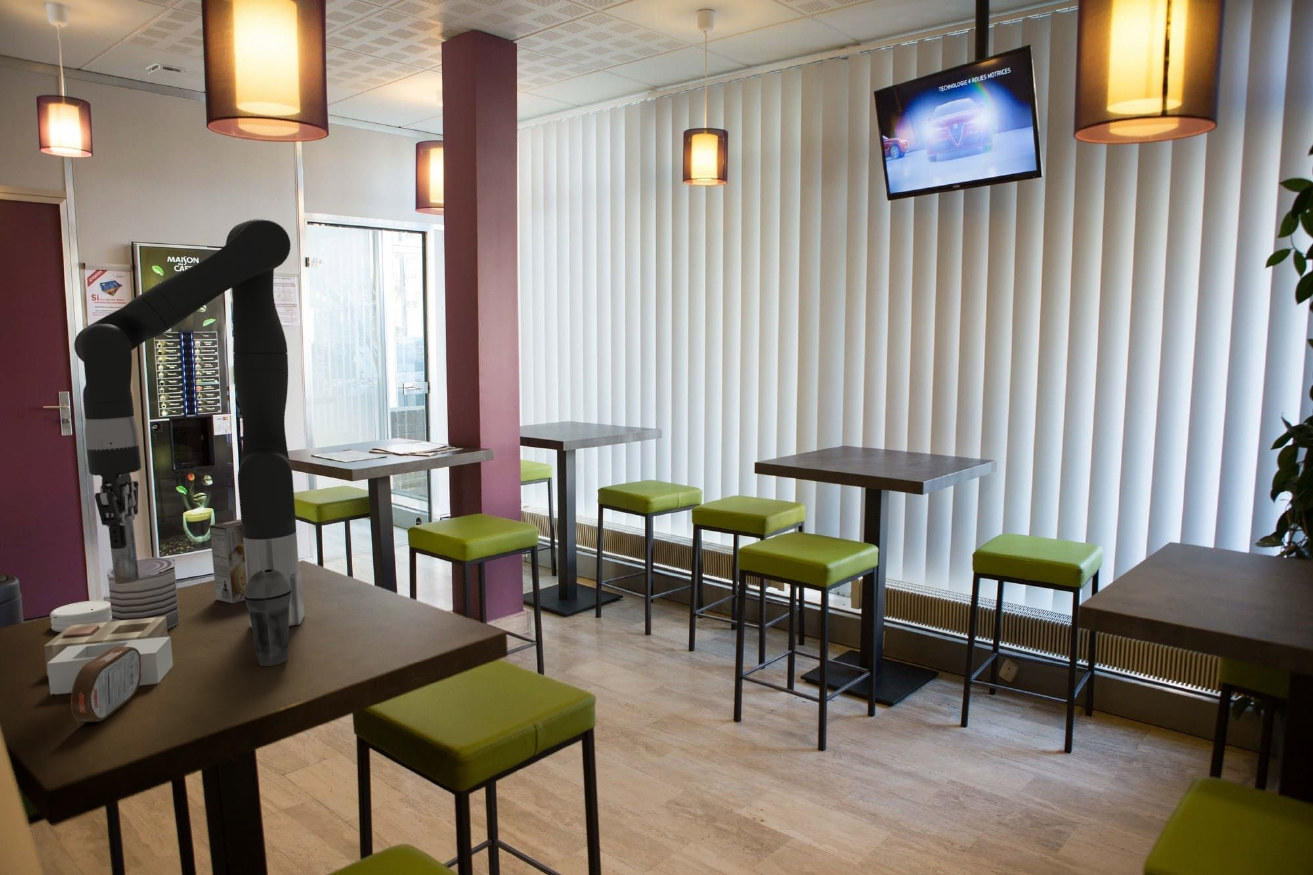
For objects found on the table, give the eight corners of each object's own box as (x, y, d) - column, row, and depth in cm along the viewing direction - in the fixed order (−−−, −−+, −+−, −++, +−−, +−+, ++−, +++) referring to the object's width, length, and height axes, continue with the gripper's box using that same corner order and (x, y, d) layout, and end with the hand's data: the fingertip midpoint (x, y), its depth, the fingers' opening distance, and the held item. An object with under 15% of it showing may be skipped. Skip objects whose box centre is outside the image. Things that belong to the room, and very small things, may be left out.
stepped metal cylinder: (141, 577, 152) (134, 502, 150) (135, 582, 148) (127, 506, 147) (118, 579, 151) (110, 504, 149) (111, 584, 147) (103, 508, 146)
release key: (101, 650, 152) (98, 625, 151) (92, 658, 148) (90, 632, 147) (75, 653, 151) (72, 627, 150) (65, 661, 147) (63, 635, 146)
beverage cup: (306, 655, 149) (297, 540, 147) (274, 671, 143) (265, 550, 140) (271, 651, 152) (263, 537, 150) (239, 666, 145) (229, 547, 143)
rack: (173, 665, 146) (170, 636, 146) (158, 683, 138) (155, 652, 138) (71, 675, 143) (68, 646, 142) (50, 694, 135) (47, 663, 134)
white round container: (47, 636, 164) (45, 618, 163) (55, 622, 173) (53, 604, 172) (110, 627, 168) (108, 609, 168) (115, 613, 177) (113, 596, 177)
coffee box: (255, 589, 192) (249, 516, 190) (272, 592, 189) (267, 519, 187) (214, 599, 184) (208, 524, 183) (232, 604, 181) (226, 527, 179)
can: (194, 617, 172) (189, 558, 171) (151, 637, 161) (145, 573, 160) (143, 616, 174) (137, 556, 173) (97, 635, 163) (91, 572, 162)
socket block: (168, 643, 157) (166, 616, 157) (149, 665, 147) (146, 636, 146) (73, 652, 154) (71, 625, 153) (47, 675, 143) (44, 645, 143)
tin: (126, 690, 136) (121, 637, 135) (148, 689, 136) (143, 636, 135) (70, 733, 121) (64, 674, 120) (94, 732, 121) (88, 673, 120)
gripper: (123, 448, 141) (134, 553, 143) (150, 438, 155) (160, 534, 157) (70, 451, 139) (82, 557, 141) (103, 441, 153) (113, 538, 155)
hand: (123, 544), depth 149 cm, fingers closed on stepped metal cylinder, 3 cm apart
